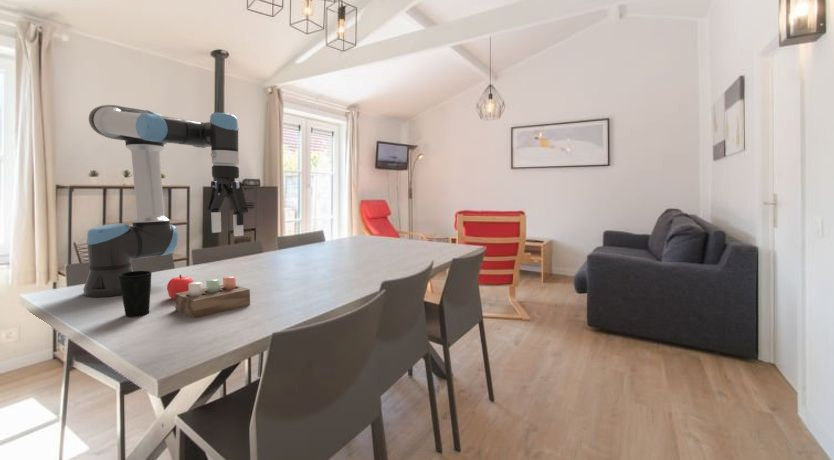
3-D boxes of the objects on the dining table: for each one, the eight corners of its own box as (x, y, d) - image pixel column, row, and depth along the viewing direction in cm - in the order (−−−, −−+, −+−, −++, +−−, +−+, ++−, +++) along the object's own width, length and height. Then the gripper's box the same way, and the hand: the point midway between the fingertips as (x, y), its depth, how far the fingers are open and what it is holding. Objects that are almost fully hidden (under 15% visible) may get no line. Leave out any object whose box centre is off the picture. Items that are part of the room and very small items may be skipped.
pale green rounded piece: (204, 293, 120) (204, 280, 119) (216, 290, 123) (215, 278, 122) (210, 295, 118) (210, 282, 117) (222, 292, 121) (221, 280, 120)
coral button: (221, 289, 124) (220, 277, 124) (232, 287, 127) (231, 275, 127) (227, 291, 122) (226, 279, 122) (238, 289, 125) (237, 277, 124)
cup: (136, 319, 108) (134, 277, 107) (113, 317, 110) (111, 275, 109) (159, 311, 116) (158, 271, 115) (138, 309, 117) (136, 270, 116)
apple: (161, 300, 127) (160, 276, 126) (179, 294, 134) (178, 271, 134) (183, 301, 126) (182, 277, 125) (200, 295, 133) (199, 272, 133)
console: (175, 309, 117) (174, 293, 117) (230, 297, 131) (229, 283, 131) (194, 318, 110) (193, 300, 110) (250, 304, 124) (249, 289, 124)
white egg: (186, 296, 116) (186, 283, 115) (199, 294, 119) (198, 281, 118) (192, 298, 114) (191, 285, 113) (205, 296, 116) (204, 283, 116)
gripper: (193, 165, 124) (196, 231, 126) (235, 163, 110) (236, 238, 112) (217, 166, 130) (219, 230, 132) (259, 165, 116) (260, 236, 118)
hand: (227, 234), depth 122 cm, fingers open, 12 cm apart
